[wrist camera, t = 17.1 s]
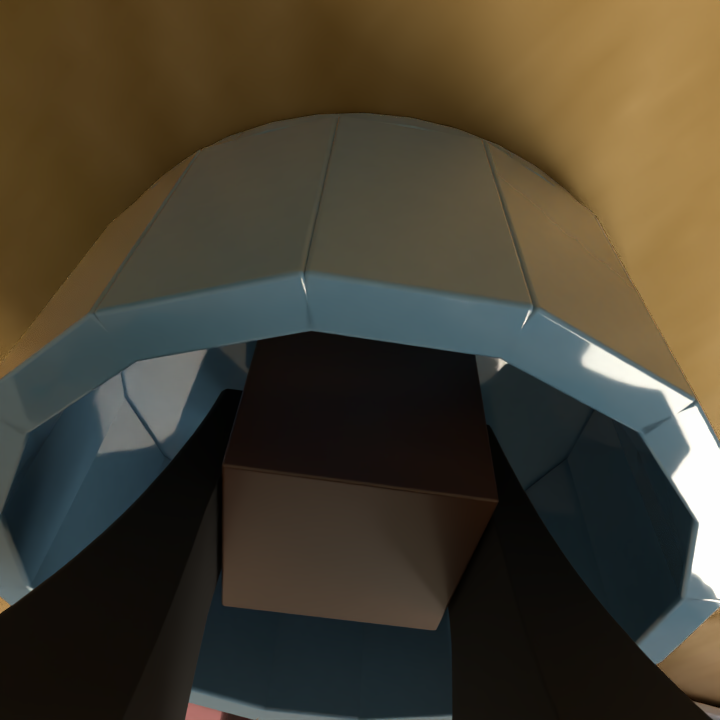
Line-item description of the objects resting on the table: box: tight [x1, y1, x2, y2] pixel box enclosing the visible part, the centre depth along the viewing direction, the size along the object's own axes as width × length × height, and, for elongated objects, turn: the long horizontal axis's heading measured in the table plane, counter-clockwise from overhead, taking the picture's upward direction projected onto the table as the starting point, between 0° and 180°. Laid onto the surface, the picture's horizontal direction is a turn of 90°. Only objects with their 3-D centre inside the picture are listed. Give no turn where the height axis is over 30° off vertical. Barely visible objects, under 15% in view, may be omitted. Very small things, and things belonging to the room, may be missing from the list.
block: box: [222, 331, 499, 630], centre depth 12 cm, size 4×4×4 cm
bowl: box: [0, 113, 720, 720], centre depth 12 cm, size 13×13×6 cm
